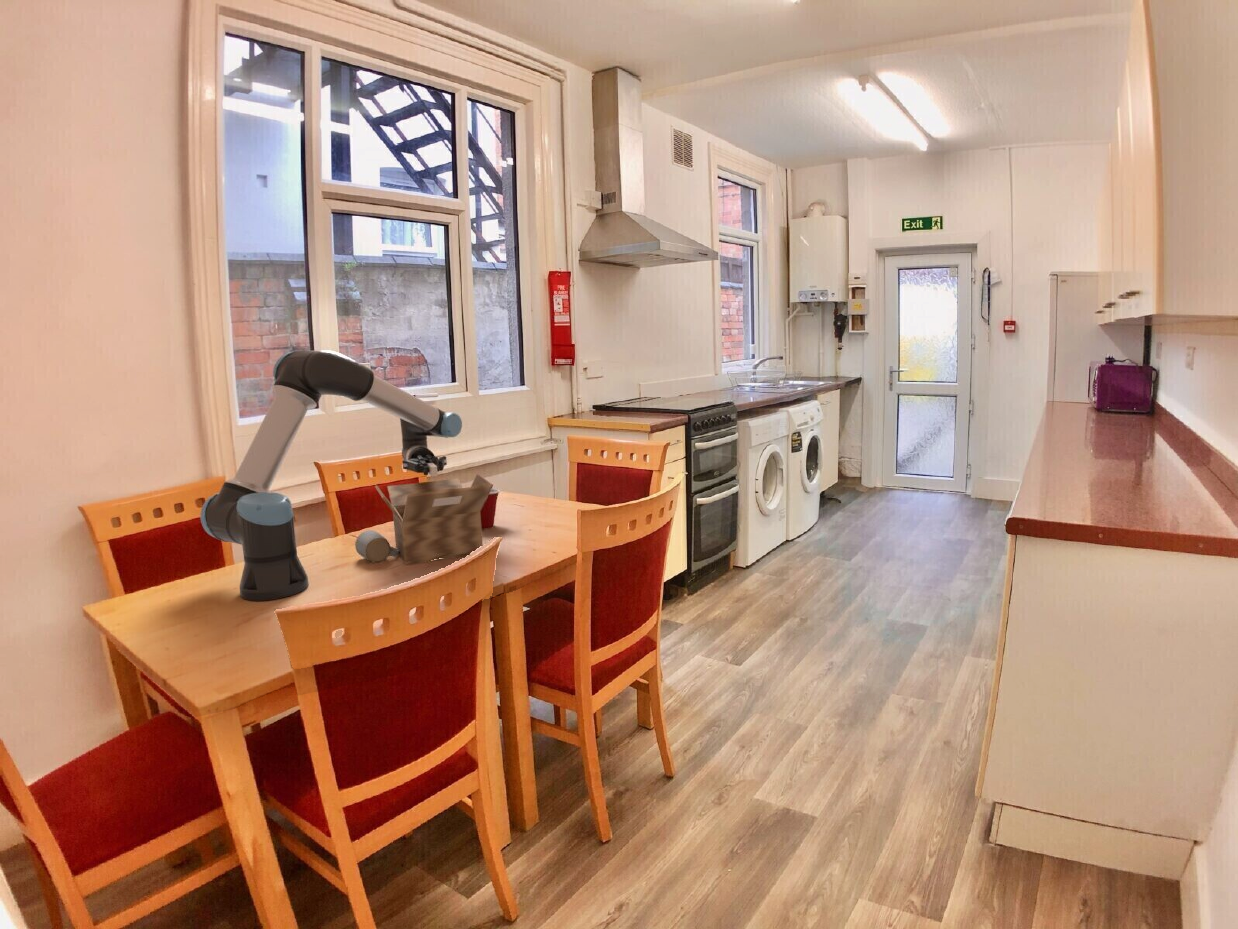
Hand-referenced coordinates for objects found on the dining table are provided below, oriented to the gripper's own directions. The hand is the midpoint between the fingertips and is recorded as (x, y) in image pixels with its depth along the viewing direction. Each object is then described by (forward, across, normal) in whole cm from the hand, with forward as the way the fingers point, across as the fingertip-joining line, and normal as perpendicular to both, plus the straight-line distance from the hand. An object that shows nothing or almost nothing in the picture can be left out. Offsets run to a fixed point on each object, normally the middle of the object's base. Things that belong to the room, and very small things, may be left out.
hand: (434, 471), depth 201 cm
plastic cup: (-22, -18, -24) cm, 36 cm away
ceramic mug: (-3, +16, -24) cm, 29 cm away
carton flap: (+14, 0, -6) cm, 15 cm away
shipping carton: (-6, 0, -23) cm, 24 cm away
